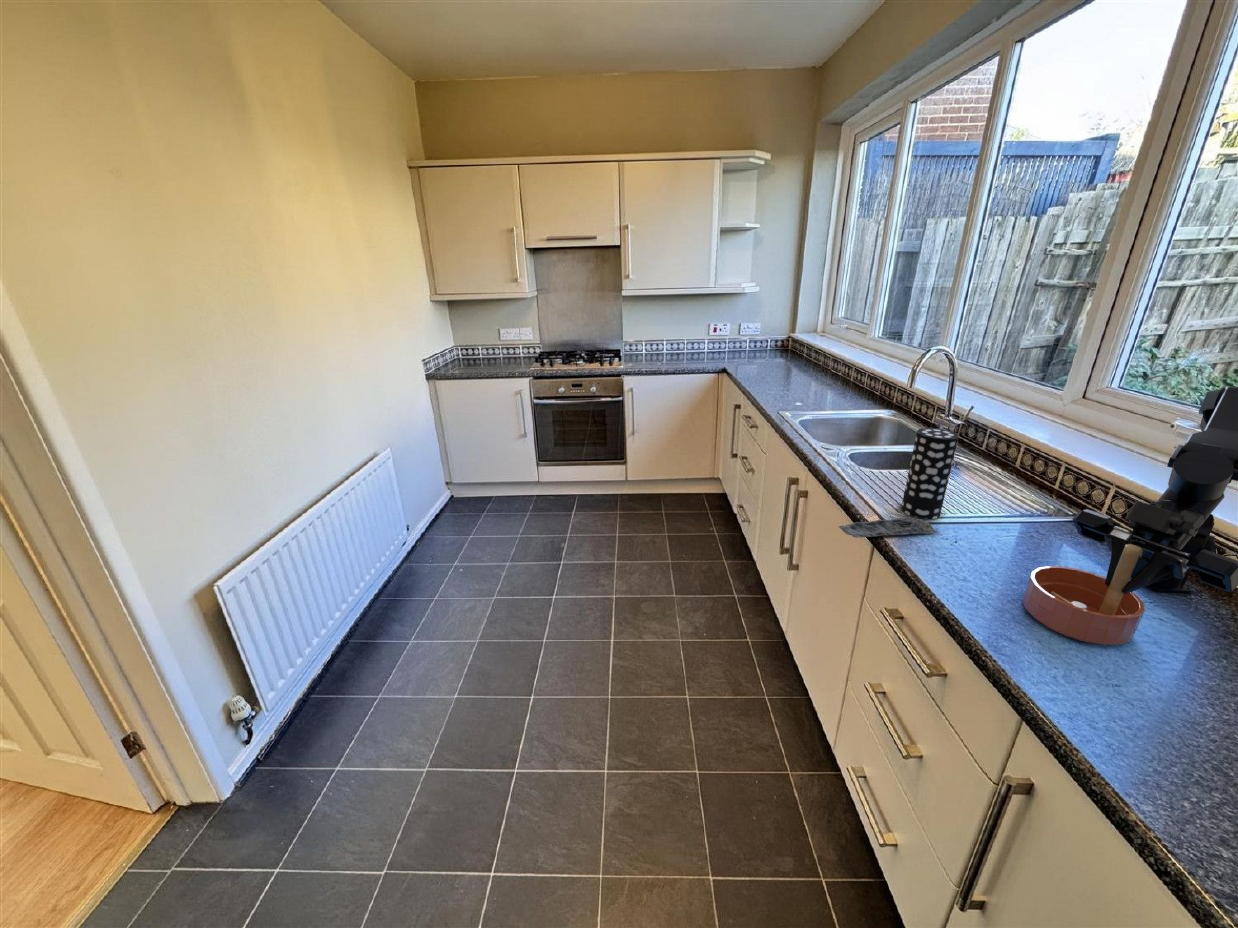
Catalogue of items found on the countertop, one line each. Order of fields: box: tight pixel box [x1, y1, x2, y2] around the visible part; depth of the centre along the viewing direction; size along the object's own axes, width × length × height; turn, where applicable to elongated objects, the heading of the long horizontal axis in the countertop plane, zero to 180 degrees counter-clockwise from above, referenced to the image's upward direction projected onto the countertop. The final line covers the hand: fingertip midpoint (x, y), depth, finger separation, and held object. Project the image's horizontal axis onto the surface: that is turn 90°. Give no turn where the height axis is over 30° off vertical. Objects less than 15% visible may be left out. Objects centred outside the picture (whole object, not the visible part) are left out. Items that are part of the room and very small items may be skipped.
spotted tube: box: [900, 427, 960, 520], centre depth 120 cm, size 8×8×20 cm
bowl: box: [1021, 565, 1146, 646], centre depth 85 cm, size 14×14×6 cm
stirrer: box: [1050, 544, 1143, 615], centre depth 83 cm, size 10×2×15 cm, turn 9°
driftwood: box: [838, 517, 937, 539], centre depth 115 cm, size 21×7×2 cm, turn 96°
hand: (1115, 588), depth 79 cm, fingers closed on stirrer, 2 cm apart
